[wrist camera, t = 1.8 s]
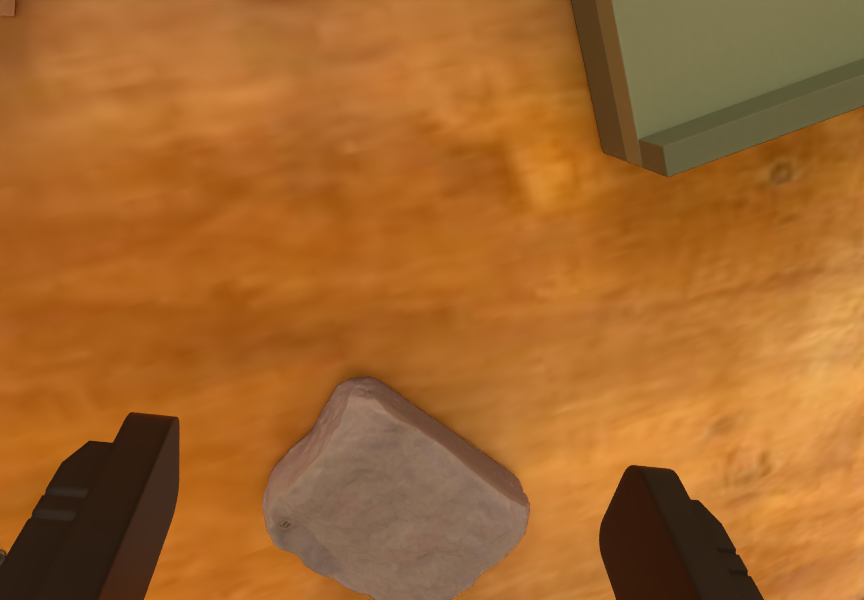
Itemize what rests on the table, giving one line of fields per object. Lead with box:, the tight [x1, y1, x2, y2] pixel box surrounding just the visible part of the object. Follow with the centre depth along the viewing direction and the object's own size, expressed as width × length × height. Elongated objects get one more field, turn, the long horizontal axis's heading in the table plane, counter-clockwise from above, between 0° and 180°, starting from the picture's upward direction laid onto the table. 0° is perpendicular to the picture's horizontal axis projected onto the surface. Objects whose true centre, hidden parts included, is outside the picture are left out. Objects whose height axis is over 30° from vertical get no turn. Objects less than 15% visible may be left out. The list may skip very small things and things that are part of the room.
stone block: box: [262, 377, 530, 600], centre depth 33 cm, size 12×5×10 cm
